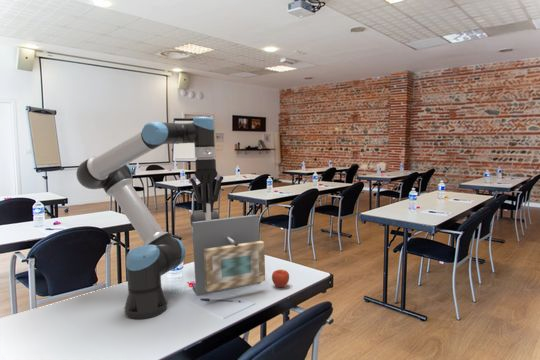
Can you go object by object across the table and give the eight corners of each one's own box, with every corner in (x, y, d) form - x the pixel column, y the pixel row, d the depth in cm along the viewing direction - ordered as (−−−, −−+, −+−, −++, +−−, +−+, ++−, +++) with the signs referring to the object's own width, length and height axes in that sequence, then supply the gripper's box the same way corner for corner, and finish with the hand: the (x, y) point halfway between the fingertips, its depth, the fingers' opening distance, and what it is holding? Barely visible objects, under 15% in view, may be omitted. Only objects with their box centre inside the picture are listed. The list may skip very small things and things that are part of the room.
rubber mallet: (197, 279, 167) (194, 214, 163) (192, 274, 173) (189, 211, 170) (222, 273, 173) (220, 211, 169) (217, 268, 179) (214, 208, 176)
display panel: (201, 302, 142) (197, 226, 139) (192, 288, 156) (189, 219, 153) (267, 288, 153) (264, 218, 150) (253, 276, 167) (251, 212, 164)
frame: (208, 292, 139) (205, 247, 137) (205, 289, 142) (203, 244, 140) (265, 281, 149) (264, 239, 147) (262, 278, 152) (261, 236, 150)
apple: (285, 282, 160) (285, 264, 159) (292, 288, 153) (291, 270, 152) (269, 284, 158) (269, 266, 157) (275, 291, 151) (274, 272, 150)
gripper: (190, 159, 130) (193, 224, 133) (225, 158, 136) (227, 220, 138) (185, 159, 137) (189, 220, 140) (219, 157, 142) (222, 217, 145)
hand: (208, 220), depth 139 cm, fingers closed
